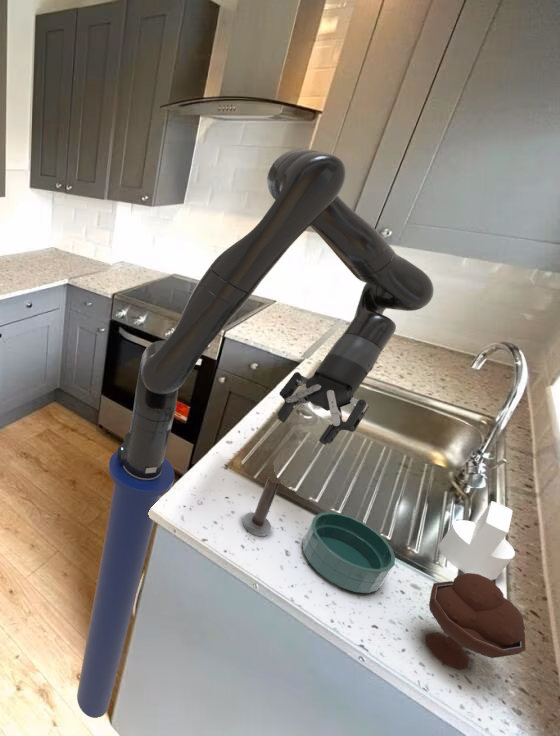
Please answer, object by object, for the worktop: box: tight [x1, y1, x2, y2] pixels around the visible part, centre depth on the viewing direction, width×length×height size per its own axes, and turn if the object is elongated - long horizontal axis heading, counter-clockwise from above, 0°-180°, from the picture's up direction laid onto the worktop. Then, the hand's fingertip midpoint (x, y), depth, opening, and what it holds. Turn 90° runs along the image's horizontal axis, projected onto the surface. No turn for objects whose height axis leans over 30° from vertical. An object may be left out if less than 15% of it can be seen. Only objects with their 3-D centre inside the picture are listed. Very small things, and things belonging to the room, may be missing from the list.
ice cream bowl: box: [425, 573, 527, 670], centre depth 65 cm, size 11×11×15 cm
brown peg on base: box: [242, 475, 281, 538], centre depth 86 cm, size 5×5×13 cm
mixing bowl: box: [301, 511, 396, 594], centre depth 81 cm, size 13×13×6 cm
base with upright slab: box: [438, 500, 516, 581], centre depth 82 cm, size 9×9×12 cm
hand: (300, 431), depth 84 cm, fingers open, 8 cm apart
